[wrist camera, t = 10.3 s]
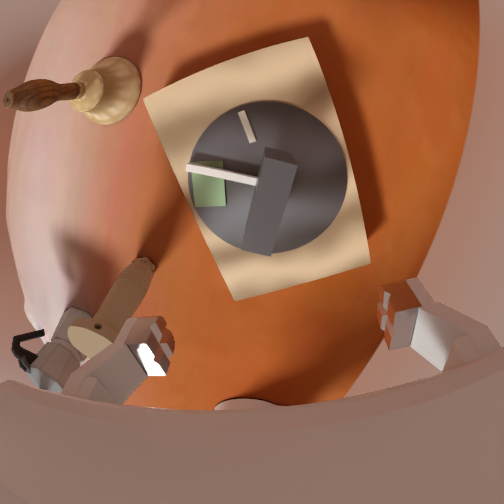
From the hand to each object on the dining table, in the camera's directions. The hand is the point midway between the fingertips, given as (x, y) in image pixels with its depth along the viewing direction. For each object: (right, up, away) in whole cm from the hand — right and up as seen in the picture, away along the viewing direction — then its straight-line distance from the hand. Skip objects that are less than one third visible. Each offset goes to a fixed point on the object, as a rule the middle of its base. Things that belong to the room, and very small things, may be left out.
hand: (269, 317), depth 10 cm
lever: (-2, +9, +15) cm, 18 cm away
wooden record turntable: (+1, +11, +19) cm, 22 cm away
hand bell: (-17, +21, +15) cm, 30 cm away
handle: (-15, +1, +26) cm, 30 cm away
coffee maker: (-31, -10, +33) cm, 47 cm away
